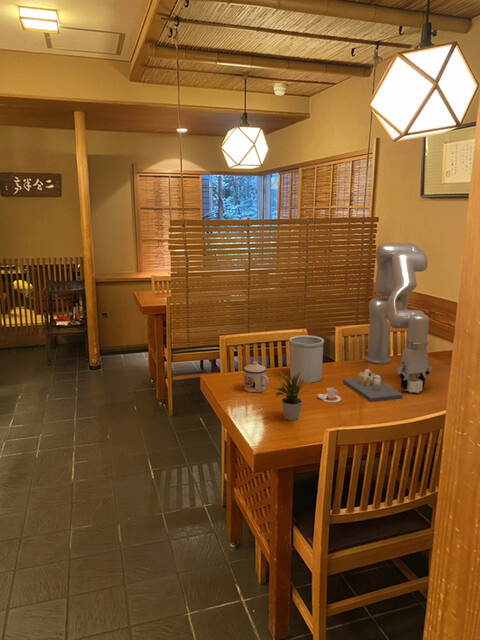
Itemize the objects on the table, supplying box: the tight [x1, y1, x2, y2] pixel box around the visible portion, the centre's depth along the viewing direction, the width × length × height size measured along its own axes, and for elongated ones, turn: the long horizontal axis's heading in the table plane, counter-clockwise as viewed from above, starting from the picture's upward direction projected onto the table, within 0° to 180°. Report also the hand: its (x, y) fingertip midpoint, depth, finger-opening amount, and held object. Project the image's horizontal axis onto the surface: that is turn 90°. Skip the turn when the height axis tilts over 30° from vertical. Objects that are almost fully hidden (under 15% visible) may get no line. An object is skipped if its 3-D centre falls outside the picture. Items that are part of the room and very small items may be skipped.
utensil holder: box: [289, 334, 325, 384], centre depth 199 cm, size 15×15×18 cm
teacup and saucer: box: [317, 387, 342, 403], centre depth 177 cm, size 9×8×4 cm
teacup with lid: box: [243, 361, 270, 393], centre depth 184 cm, size 12×9×12 cm
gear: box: [403, 377, 423, 394], centre depth 184 cm, size 7×7×4 cm
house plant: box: [272, 371, 311, 421], centre depth 160 cm, size 14×14×16 cm
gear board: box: [342, 368, 404, 403], centre depth 185 cm, size 22×14×8 cm, turn 15°
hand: (412, 387), depth 184 cm, fingers closed on gear, 7 cm apart
